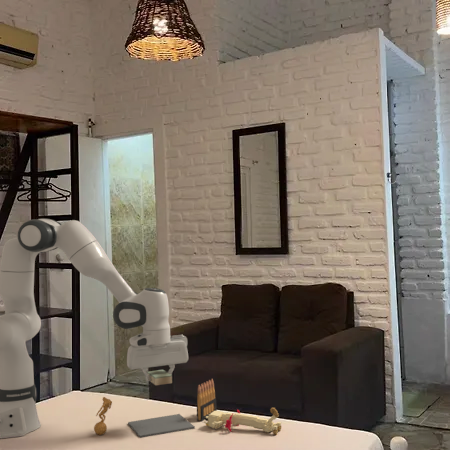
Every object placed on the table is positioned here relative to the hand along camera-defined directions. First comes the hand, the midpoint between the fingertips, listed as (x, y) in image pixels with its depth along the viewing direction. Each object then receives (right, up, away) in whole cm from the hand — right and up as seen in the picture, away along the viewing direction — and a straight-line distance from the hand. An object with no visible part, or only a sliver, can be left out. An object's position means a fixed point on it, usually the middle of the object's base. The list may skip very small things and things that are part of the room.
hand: (159, 379), depth 201 cm
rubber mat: (+1, -15, 0) cm, 15 cm away
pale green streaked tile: (+2, +1, -5) cm, 6 cm away
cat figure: (+27, -14, -7) cm, 31 cm away
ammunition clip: (+16, -15, +8) cm, 23 cm away
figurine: (-17, -16, -6) cm, 24 cm away
